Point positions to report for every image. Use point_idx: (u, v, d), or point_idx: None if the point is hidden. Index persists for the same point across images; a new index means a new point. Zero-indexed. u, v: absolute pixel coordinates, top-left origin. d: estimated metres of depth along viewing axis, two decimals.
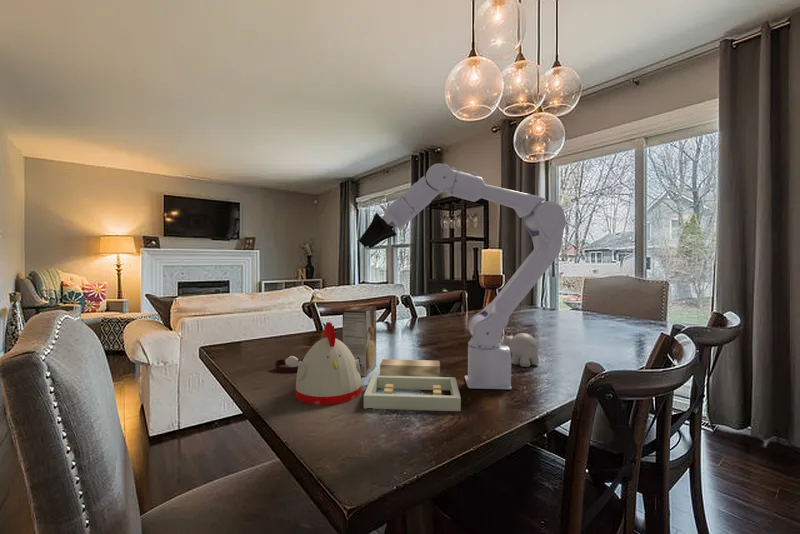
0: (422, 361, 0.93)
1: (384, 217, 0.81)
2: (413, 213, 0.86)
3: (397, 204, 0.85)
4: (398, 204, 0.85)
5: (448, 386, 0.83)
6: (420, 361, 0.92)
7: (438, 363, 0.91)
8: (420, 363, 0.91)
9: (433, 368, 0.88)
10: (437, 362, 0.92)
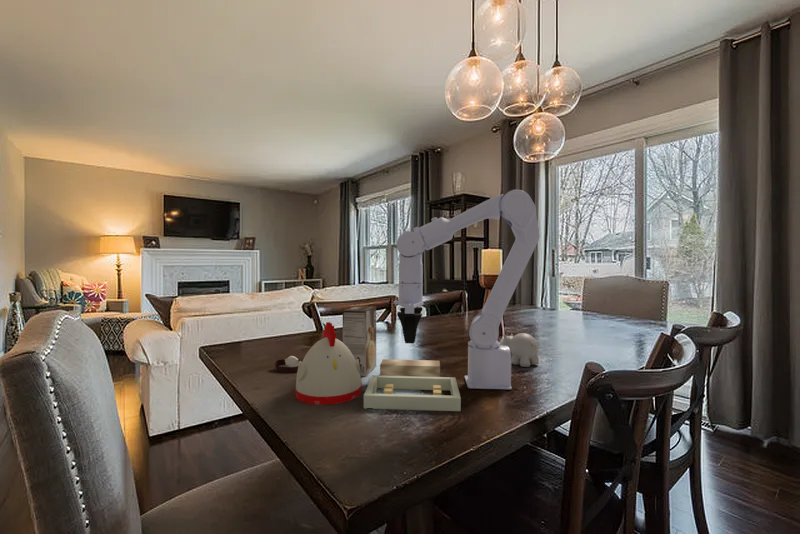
0: (422, 361, 0.93)
1: (406, 311, 0.84)
2: (420, 285, 0.89)
3: (403, 291, 0.89)
4: (404, 290, 0.88)
5: (448, 386, 0.83)
6: (420, 361, 0.92)
7: (438, 363, 0.91)
8: (420, 363, 0.91)
9: (433, 368, 0.88)
10: (437, 362, 0.92)
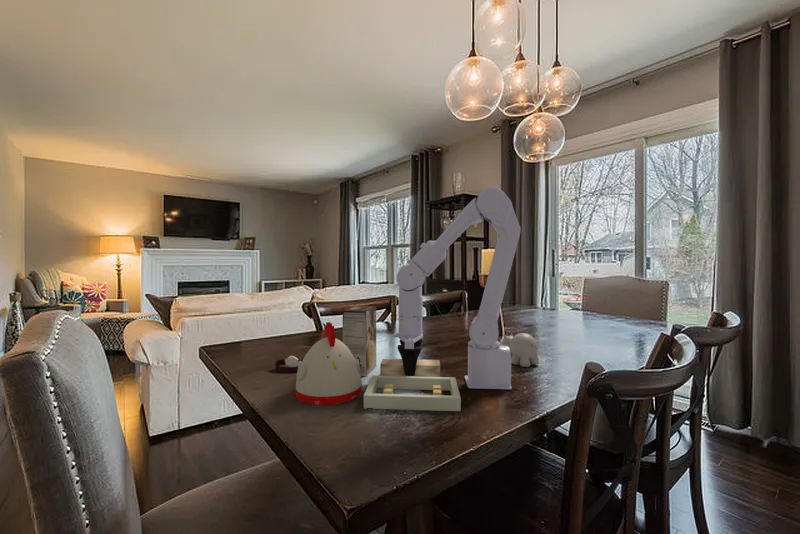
0: (422, 360, 0.93)
1: (406, 347, 0.84)
2: (420, 318, 0.89)
3: (403, 325, 0.89)
4: (404, 324, 0.89)
5: (448, 386, 0.83)
6: (420, 360, 0.92)
7: (438, 362, 0.91)
8: (420, 362, 0.91)
9: (433, 367, 0.88)
10: (437, 361, 0.92)
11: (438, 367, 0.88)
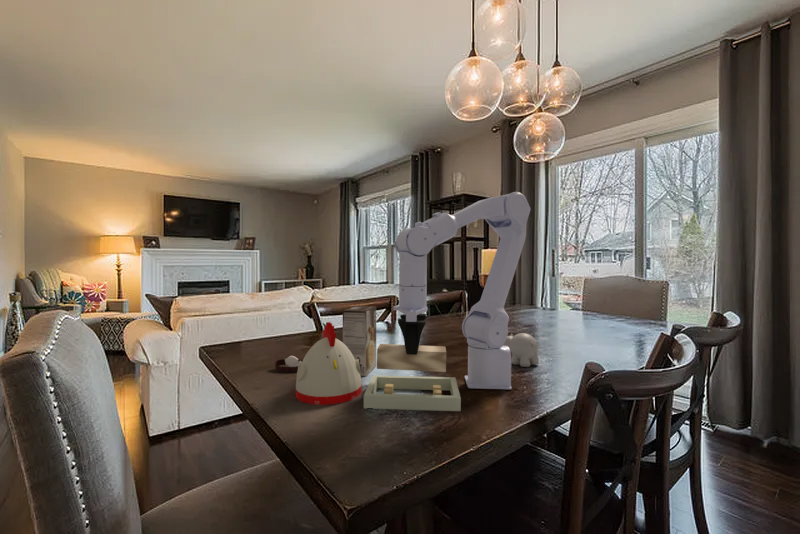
0: (425, 346, 0.81)
1: (408, 319, 0.72)
2: (423, 288, 0.77)
3: (404, 296, 0.77)
4: (405, 294, 0.77)
5: (448, 386, 0.83)
6: (423, 346, 0.80)
7: (444, 349, 0.79)
8: (424, 348, 0.79)
9: (438, 354, 0.76)
10: (443, 348, 0.80)
11: (444, 354, 0.76)
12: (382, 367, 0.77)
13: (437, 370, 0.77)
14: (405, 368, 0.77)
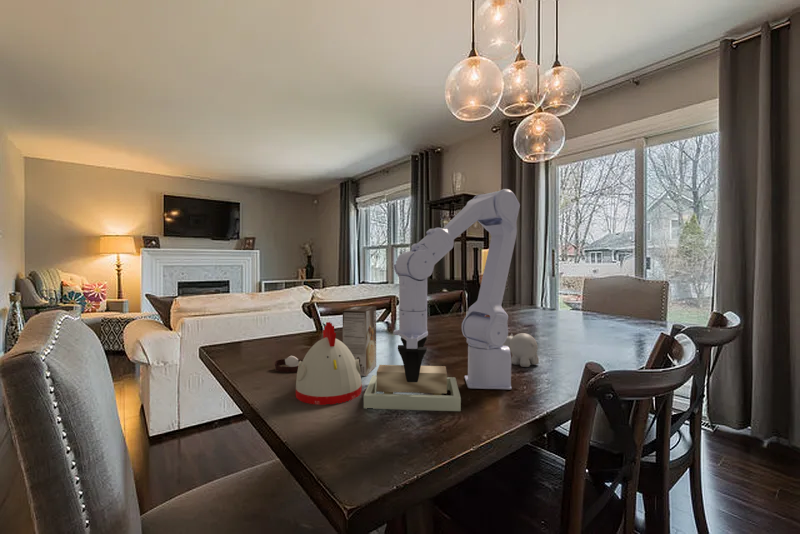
0: (426, 366, 0.80)
1: (408, 346, 0.71)
2: (424, 313, 0.76)
3: (405, 321, 0.76)
4: (405, 319, 0.75)
5: (448, 386, 0.83)
6: (423, 367, 0.79)
7: (444, 369, 0.78)
8: (424, 369, 0.78)
9: (439, 375, 0.75)
10: (443, 368, 0.79)
11: (445, 375, 0.75)
12: (382, 390, 0.76)
13: (438, 392, 0.75)
14: (405, 390, 0.76)
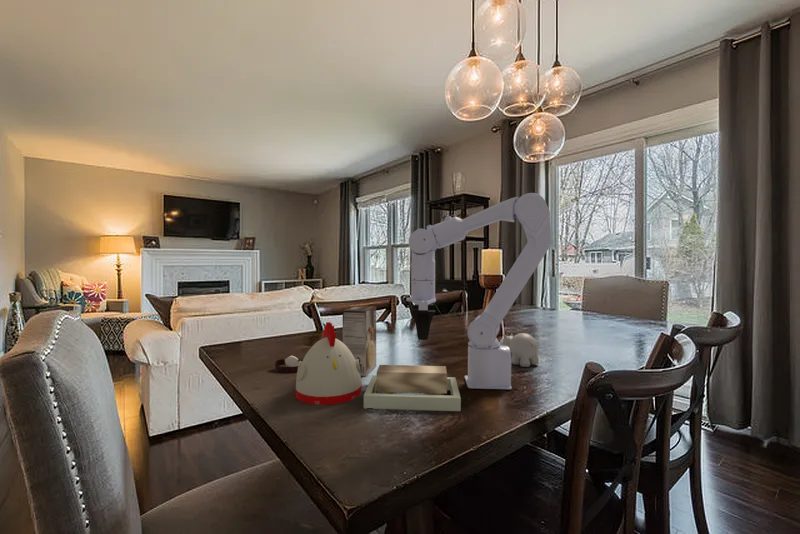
0: (426, 366, 0.80)
1: (420, 308, 0.84)
2: (433, 282, 0.90)
3: (416, 288, 0.89)
4: (417, 287, 0.89)
5: (448, 386, 0.83)
6: (423, 367, 0.79)
7: (444, 369, 0.78)
8: (424, 369, 0.78)
9: (439, 375, 0.75)
10: (443, 368, 0.79)
11: (445, 375, 0.75)
12: (382, 390, 0.76)
13: (438, 392, 0.75)
14: (405, 390, 0.76)
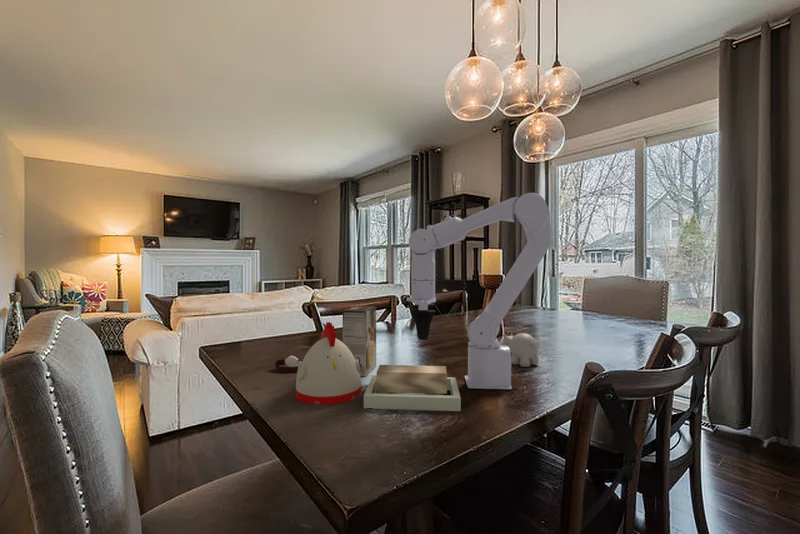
0: (426, 366, 0.80)
1: (420, 308, 0.84)
2: (433, 282, 0.90)
3: (416, 288, 0.89)
4: (417, 287, 0.89)
5: (448, 386, 0.83)
6: (423, 367, 0.79)
7: (444, 369, 0.78)
8: (424, 369, 0.78)
9: (439, 375, 0.75)
10: (443, 368, 0.79)
11: (445, 375, 0.75)
12: (382, 390, 0.76)
13: (438, 392, 0.75)
14: (405, 390, 0.76)
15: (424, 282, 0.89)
